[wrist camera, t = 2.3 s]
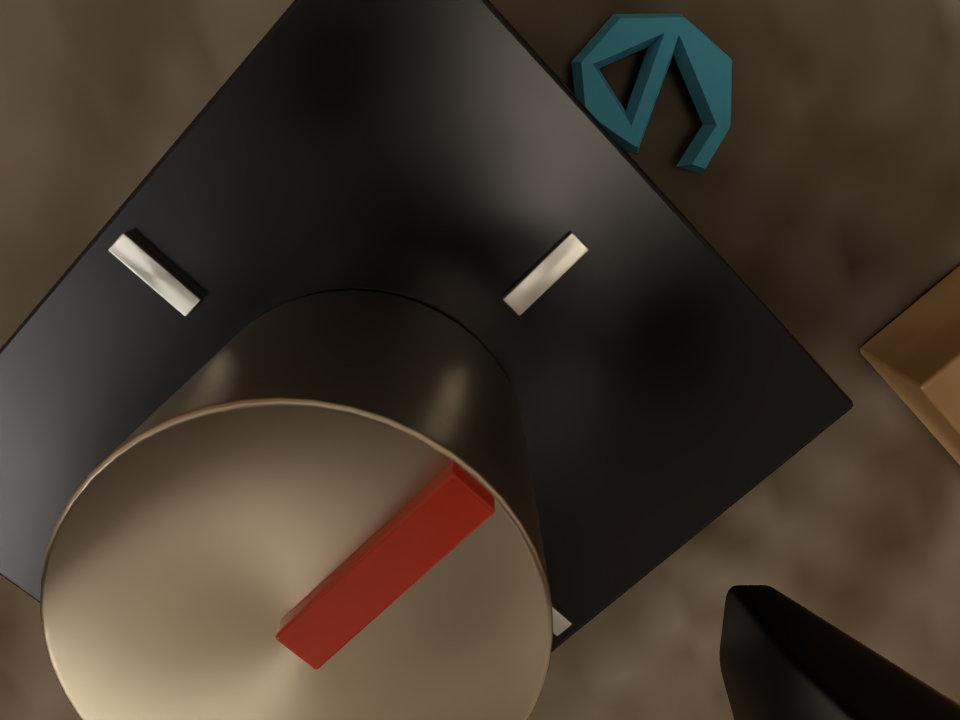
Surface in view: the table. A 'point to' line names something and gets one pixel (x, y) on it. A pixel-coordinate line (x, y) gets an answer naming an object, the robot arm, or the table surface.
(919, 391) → the button block
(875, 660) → the robot arm
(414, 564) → the knob
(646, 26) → the nameplate
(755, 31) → the table surface
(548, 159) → the dial console
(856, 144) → the table surface
